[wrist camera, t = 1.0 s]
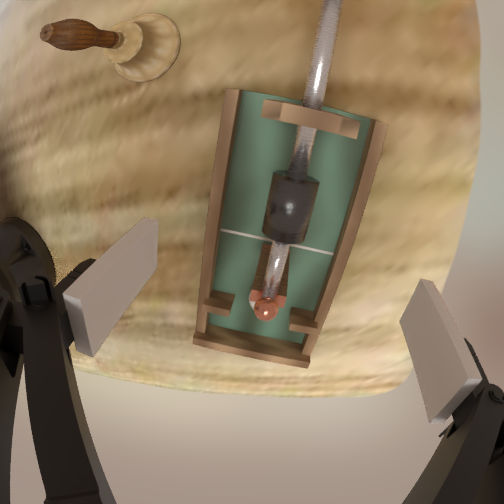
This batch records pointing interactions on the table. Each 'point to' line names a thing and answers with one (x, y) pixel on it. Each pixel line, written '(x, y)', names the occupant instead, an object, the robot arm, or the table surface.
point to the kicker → (294, 180)
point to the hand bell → (123, 43)
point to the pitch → (252, 215)
